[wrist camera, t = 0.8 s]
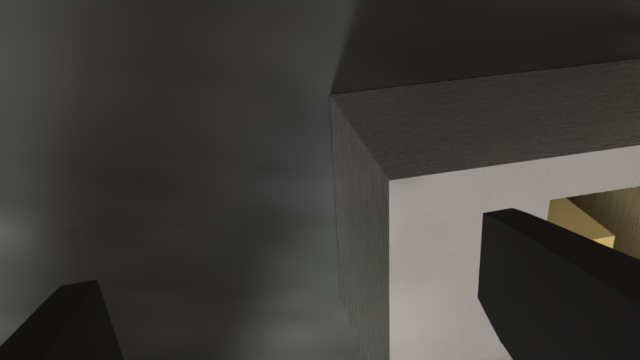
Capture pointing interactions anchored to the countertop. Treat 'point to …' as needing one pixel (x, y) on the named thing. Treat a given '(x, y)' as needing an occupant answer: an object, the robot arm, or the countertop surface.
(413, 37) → the countertop surface
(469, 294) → the dispenser
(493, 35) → the countertop surface
